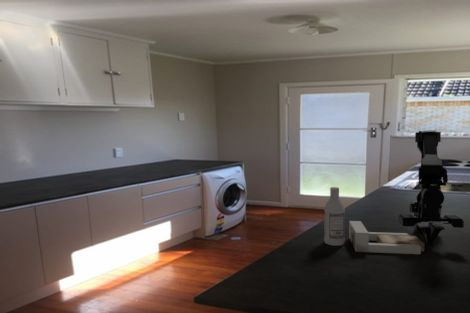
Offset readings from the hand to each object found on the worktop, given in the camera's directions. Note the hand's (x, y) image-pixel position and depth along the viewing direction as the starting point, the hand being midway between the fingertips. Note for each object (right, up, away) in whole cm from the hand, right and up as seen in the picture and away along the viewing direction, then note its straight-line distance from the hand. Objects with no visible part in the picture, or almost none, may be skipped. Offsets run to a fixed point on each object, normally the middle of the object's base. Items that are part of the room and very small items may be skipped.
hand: (429, 245), depth 117 cm
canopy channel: (-16, -1, +3) cm, 16 cm away
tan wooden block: (-9, -1, +2) cm, 9 cm away
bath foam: (-30, -1, +6) cm, 31 cm away
